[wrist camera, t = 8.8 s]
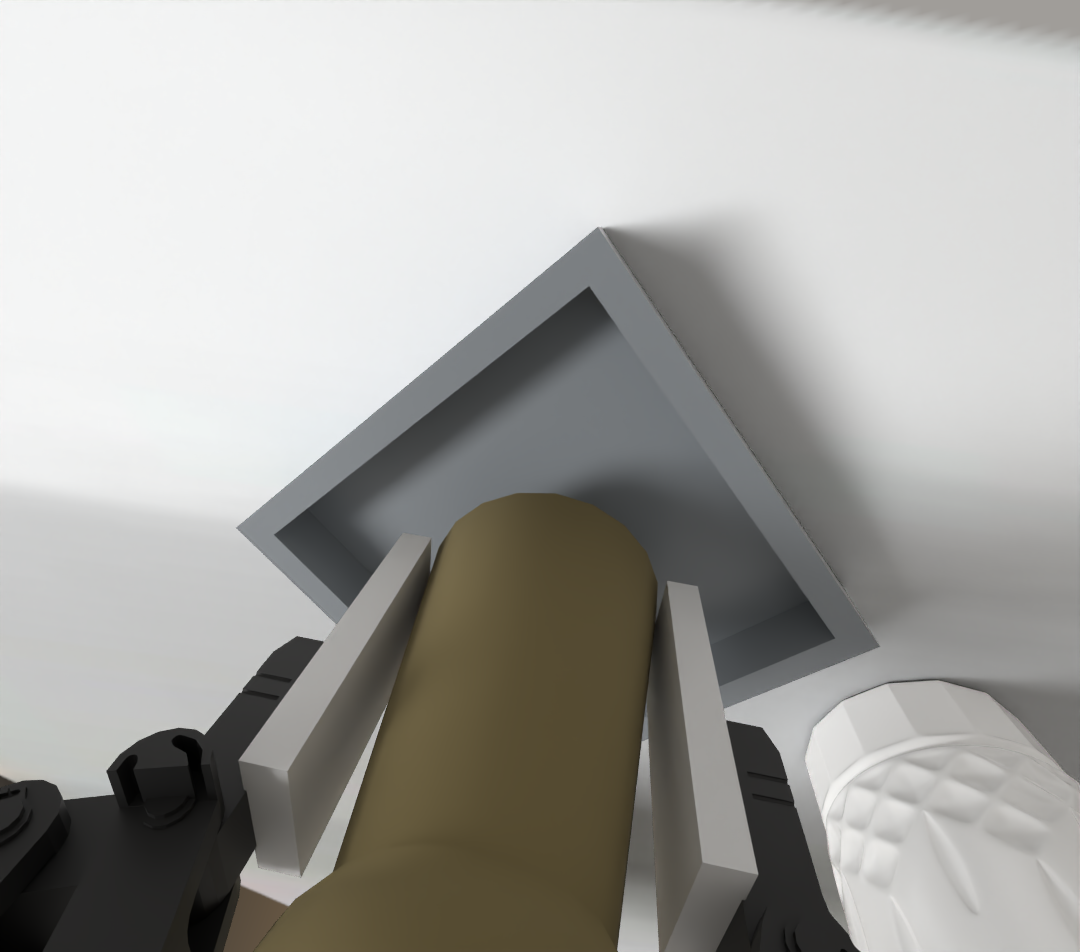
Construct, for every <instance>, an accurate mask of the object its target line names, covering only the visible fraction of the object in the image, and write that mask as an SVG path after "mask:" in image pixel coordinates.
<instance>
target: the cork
mask: <svg viewBox="0 0 1080 952" xmlns="http://www.w3.org/2000/svg"><path fill="white" fill-rule="evenodd" d="M657 590H658V582H657V579H656V576H655V574H654V571H653V568H652V565H651V562H650V560H649V557H648V554H647V552H646V551H645V550H644V548H643V547H642V546H641V545H640V543H639V542H638V541H637V540H636V539H635V537H634V536H633V535H632V534H631V532H630V531H629V530H628V529H627V528H626V526H625V525H623V524H622V523H620V522H619V521H617V520H616V519H614V518H613V517H611V516H610V515H608V514H607V513H605V512H603V511H602V510H600V509H599V508H597V507H596V506H594V505H592V504H589V503H586V502H583V501H579V500H576V499H573V498H569V497H566V496H563V495H559V494H556V493H515V494H512V495H508V496H505V497H501V498H498V499H495V500H491V501H488V502H484V503H482V504H480V505H479V506H478V507H476V508H475V509H473V510H472V511H470V512H469V513H468V514H466V515H465V516H463V517H462V518H461V519H459V520H458V521H456V522H455V524H454V525H453V527H452V528H451V530H450V531H449V533H448V534H447V536H446V537H445V539H444V540H443V542H442V543H441V544H440V546H439V548H438V551H437V554H436V557H435V560H434V564H433V567H432V570H431V573H430V576H429V579H428V582H427V585H426V588H425V591H424V594H423V597H422V600H421V603H420V606H419V610H418V613H417V616H416V619H415V622H414V625H413V628H412V631H411V634H410V637H409V640H408V643H407V646H406V649H405V652H404V656H403V659H402V662H401V665H400V668H399V671H398V674H397V677H396V680H395V683H394V686H393V689H392V692H391V695H390V698H389V702H388V705H387V708H386V711H385V714H384V717H383V720H382V723H381V726H380V729H379V732H378V735H377V738H376V741H375V744H374V748H373V751H372V754H371V757H370V760H369V763H368V766H367V769H366V772H365V775H364V778H363V781H362V784H361V787H360V790H359V794H358V797H357V800H356V803H355V806H354V809H353V812H352V815H351V818H350V821H349V824H348V827H347V830H346V833H345V836H344V840H343V843H342V846H341V849H340V852H339V855H338V858H337V861H336V864H335V867H334V870H333V873H331V874H330V875H328V876H327V877H326V878H324V879H323V880H322V881H320V882H319V883H317V884H316V885H315V886H313V887H312V888H310V889H309V890H308V891H306V892H305V893H303V894H302V895H301V896H299V897H298V898H296V899H295V900H294V901H293V903H292V904H291V905H290V906H289V907H288V908H287V910H286V911H285V912H284V913H283V914H282V915H281V917H280V918H279V919H278V920H277V921H276V922H275V924H274V925H273V926H272V928H271V929H270V930H269V931H268V933H267V934H266V935H265V937H264V938H263V939H262V941H261V942H260V943H259V945H258V946H257V947H256V949H255V950H254V951H253V952H618V951H617V946H618V938H619V929H620V921H621V912H622V904H623V895H624V887H625V878H626V870H627V861H628V852H629V844H630V835H631V827H632V818H633V810H634V801H635V793H636V784H637V776H638V767H639V758H640V750H641V741H642V733H643V724H644V716H645V707H646V699H647V690H648V682H649V673H650V664H651V656H652V647H653V639H654V630H655V622H656V613H657Z"/></svg>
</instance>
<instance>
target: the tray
mask: <svg viewBox="0 0 1080 952" xmlns="http://www.w3.org/2000/svg"><path fill="white" fill-rule="evenodd" d="M515 493H556V494H559V495H563V496H566V497H569V498H573V499H576V500H579V501H583V502H586V503H589V504H592V505H594V506H596V507H597V508H599V509H600V510H602V511H603V512H605V513H607V514H608V515H610V516H611V517H613V518H614V519H616V520H617V521H619V522H620V523H622V524H623V525H625V526H626V528H627V529H628V530H629V531H630V532H631V534H632V535H633V536H634V537H635V539H636V540H637V541H638V542H639V543H640V545H641V546H642V547H643V548H644V550H645V551H646V552H647V554H648V557H649V560H650V562H651V565H652V568H653V571H654V574H655V576H656V579H657V582H658V590H657V613H656V619H657V616H658V612H659V608H660V605H661V601H662V597H663V594H664V590H665V587H666V583H667V581H671V582H677V583H682V584H688V585H693V586H698V590H699V594H700V599H701V604H702V609H703V614H704V618H705V623H706V628H707V633H708V637H709V642H710V647H711V652H712V656H713V661H714V666H715V671H716V675H717V680H718V685H719V690H720V694H721V699H722V704H723V709H724V708H727V707H729V706H732V705H734V704H737V703H739V702H742V701H744V700H747V699H749V698H752V697H754V696H757V695H759V694H762V693H764V692H767V691H769V690H772V689H774V688H777V687H780V686H782V685H785V684H787V683H790V682H792V681H795V680H797V679H800V678H802V677H805V676H807V675H810V674H812V673H815V672H817V671H820V670H822V669H825V668H827V667H830V666H832V665H835V664H837V663H840V662H842V661H845V660H847V659H850V658H852V657H855V656H857V655H860V654H862V653H865V652H867V651H870V650H872V649H875V648H878V647H880V646H879V644H878V643H877V641H876V640H875V638H874V636H873V635H872V633H871V632H870V630H869V628H868V627H867V625H866V623H865V622H864V620H863V619H862V617H861V615H860V614H859V612H858V611H857V609H856V607H855V606H854V604H853V602H852V601H851V599H850V598H849V596H848V594H847V593H846V591H845V590H844V588H843V586H842V585H841V584H840V582H839V581H838V579H837V578H836V576H835V575H834V573H833V572H832V570H831V569H830V567H829V566H828V564H827V563H826V561H825V560H824V558H823V557H822V555H821V554H820V552H819V551H818V549H817V548H816V546H815V545H814V543H813V542H812V540H811V539H810V537H809V536H808V534H807V533H806V531H805V530H804V528H803V527H802V525H801V524H800V522H799V521H798V519H797V518H796V516H795V515H794V513H793V512H792V510H791V509H790V507H789V506H788V504H787V503H786V501H785V500H784V498H783V497H782V495H781V494H780V492H779V491H778V489H777V488H776V486H775V485H774V483H773V482H772V480H771V479H770V477H769V476H768V474H767V473H766V472H765V470H764V469H763V467H762V466H761V464H760V463H759V461H758V460H757V458H756V457H755V455H754V454H753V452H752V451H751V449H750V448H749V446H748V445H747V443H746V442H745V440H744V439H743V437H742V436H741V434H740V433H739V431H738V430H737V428H736V427H735V425H734V424H733V422H732V421H731V419H730V418H729V416H728V415H727V413H726V412H725V410H724V409H723V407H722V406H721V404H720V403H719V401H718V400H717V398H716V397H715V395H714V394H713V392H712V391H711V389H710V388H709V386H708V385H707V383H706V382H705V380H704V379H703V377H702V376H701V374H700V373H699V371H698V370H697V368H696V367H695V365H694V364H693V363H692V361H691V360H690V358H689V357H688V355H687V354H686V352H685V351H684V349H683V348H682V346H681V345H680V343H679V342H678V340H677V339H676V337H675V336H674V334H673V333H672V331H671V330H670V328H669V327H668V325H667V324H666V322H665V321H664V319H663V318H662V316H661V315H660V313H659V312H658V310H657V309H656V307H655V306H654V304H653V303H652V301H651V300H650V298H649V297H648V295H647V294H646V292H645V291H644V289H643V288H642V286H641V285H640V283H639V282H638V280H637V279H636V277H635V276H634V274H633V273H632V271H631V270H630V268H629V267H628V265H627V264H626V262H625V261H624V259H623V258H622V256H621V255H620V253H619V252H618V251H617V249H616V248H615V246H614V245H613V243H612V242H611V240H610V239H609V237H608V236H607V234H606V233H605V231H604V230H603V228H602V227H597V228H596V229H595V230H594V231H593V232H591V233H590V234H589V235H588V236H587V237H585V238H584V239H583V240H582V241H581V242H579V243H578V244H577V245H576V246H575V247H573V248H572V249H571V250H570V251H569V252H567V253H566V254H565V255H564V256H563V257H561V258H560V259H559V260H558V261H557V262H555V263H554V264H553V265H552V266H551V267H549V268H548V269H547V270H546V271H545V272H543V273H542V274H541V275H540V276H539V277H537V278H536V279H535V280H534V281H533V282H531V283H530V284H529V285H528V286H527V287H525V288H524V289H523V290H522V291H520V292H519V293H518V294H517V295H516V296H514V297H513V298H512V299H511V300H510V301H508V302H507V303H506V304H505V305H504V306H502V307H501V308H500V309H499V310H498V311H496V312H495V313H494V314H493V315H492V316H490V317H489V318H488V319H487V320H486V321H484V322H483V323H482V324H481V325H480V326H478V327H477V328H476V329H475V330H474V331H472V332H471V333H470V334H469V335H468V336H466V337H465V338H464V339H463V340H462V341H460V342H459V343H458V344H457V345H456V346H454V347H453V348H452V349H451V350H450V351H448V352H447V353H446V354H445V355H444V356H442V357H441V358H440V359H439V360H438V361H436V362H435V363H434V364H433V365H432V366H430V367H429V368H428V369H427V370H425V371H424V372H423V373H422V374H421V375H419V376H418V377H417V378H416V379H415V380H413V381H412V382H411V383H410V384H409V385H407V386H406V387H405V388H404V389H403V390H401V391H400V392H399V393H398V394H397V395H395V396H394V397H393V398H392V399H391V400H389V401H388V402H387V403H386V404H385V405H383V406H382V407H381V408H380V409H379V410H377V411H376V412H375V413H374V414H373V415H371V416H370V417H369V418H368V419H367V420H365V421H364V422H363V423H362V424H361V425H359V426H358V427H357V428H356V429H355V430H353V431H352V432H351V433H350V434H349V435H347V436H346V437H345V438H344V439H343V440H341V441H340V442H339V443H338V444H336V445H335V446H334V447H333V448H332V449H330V450H329V451H328V452H327V453H326V454H324V455H323V456H322V457H321V458H320V459H318V460H317V461H316V462H315V463H314V464H312V465H311V466H310V467H309V468H308V469H306V470H305V471H304V472H303V473H302V474H300V475H299V476H298V477H297V478H296V479H294V480H293V481H292V482H291V483H290V484H288V485H287V486H286V487H285V488H284V489H282V490H281V491H280V492H279V493H278V494H276V495H275V496H274V497H273V498H272V499H270V500H269V501H268V502H267V503H266V504H264V505H263V506H262V507H261V508H260V509H258V510H257V511H256V512H255V513H254V514H252V515H251V516H250V517H249V518H248V519H246V520H245V521H244V522H243V523H241V524H240V525H239V526H238V527H237V529H238V530H239V531H240V532H241V533H242V534H243V535H244V536H245V537H246V538H247V539H248V540H249V541H250V542H251V543H252V544H253V545H254V546H256V547H257V548H258V549H259V550H260V551H261V552H262V553H263V554H264V555H265V556H266V557H267V558H268V559H269V560H270V561H271V562H272V563H273V564H274V565H275V566H276V567H277V568H278V569H279V570H281V571H282V572H283V573H284V574H285V575H286V576H287V577H288V578H289V579H290V580H291V581H292V582H293V583H294V584H295V585H296V586H297V587H298V588H299V589H300V590H301V591H302V592H303V593H304V594H305V595H307V596H308V597H309V598H310V599H311V600H312V601H313V602H314V603H315V604H316V605H317V606H318V607H319V608H320V609H321V610H322V611H323V612H324V613H325V614H326V615H327V616H328V617H329V618H330V619H332V620H333V621H334V622H335V623H336V624H337V623H338V622H339V621H340V619H341V618H342V616H343V615H344V614H345V612H346V611H347V610H348V608H349V607H350V605H351V604H352V603H353V601H354V600H355V598H356V597H357V596H358V594H359V593H360V592H361V590H362V589H363V587H364V586H365V585H366V583H367V582H368V580H369V579H370V578H371V576H372V575H373V574H374V572H375V571H376V569H377V568H378V567H379V565H380V564H381V562H382V561H383V560H384V558H385V557H386V556H387V554H388V553H389V551H390V550H391V549H392V547H393V546H394V545H395V543H396V542H397V540H398V539H399V538H400V536H401V535H402V533H407V534H413V535H418V536H424V537H429V538H431V564H430V573H431V570H432V567H433V564H434V560H435V557H436V554H437V551H438V548H439V546H440V544H441V543H442V542H443V540H444V539H445V537H446V536H447V534H448V533H449V531H450V530H451V528H452V527H453V525H454V524H455V522H456V521H458V520H459V519H461V518H462V517H463V516H465V515H466V514H468V513H469V512H470V511H472V510H473V509H475V508H476V507H478V506H479V505H480V504H482V503H484V502H488V501H491V500H495V499H498V498H501V497H505V496H508V495H512V494H515ZM655 623H656V622H655ZM646 739H649V738H648V719H647V699H646V707H645V716H644V724H643V733H642V741H644V740H646Z"/></svg>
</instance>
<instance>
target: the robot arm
mask: <svg viewBox="0 0 1080 952" xmlns="http://www.w3.org/2000/svg"><path fill="white" fill-rule="evenodd" d="M430 564H431V538H429V537H424V536H418V535H413V534H407V533H402V535H401V536H400V538H399V539H398V540H397V542H396V543H395V545H394V546H393V547H392V549H391V550H390V551H389V553H388V554H387V556H386V557H385V558H384V560H383V561H382V562H381V564H380V565H379V567H378V568H377V569H376V571H375V572H374V574H373V575H372V576H371V578H370V579H369V580H368V582H367V583H366V585H365V586H364V587H363V589H362V590H361V592H360V593H359V594H358V596H357V597H356V598H355V600H354V601H353V603H352V604H351V605H350V607H349V608H348V610H347V611H346V612H345V614H344V615H343V616H342V618H341V619H340V621H339V622H338V623H337V625H336V626H335V628H334V629H333V630H332V632H331V633H330V634H329V636H328V637H327V639H326V640H325V641H324V642H323V641H318V640H313V639H308V638H303V637H298V636H297V637H295V638H294V639H292V640H291V641H289V642H288V643H286V644H284V645H283V646H281V647H280V648H278V649H277V650H275V651H274V652H273V653H272V654H271V655H270V657H269V658H268V659H267V660H266V661H265V663H264V664H263V665H262V666H261V667H260V669H259V670H258V671H257V674H256V676H253V677H252V678H251V680H250V681H249V682H248V683H247V684H246V686H245V687H244V688H243V691H242V693H239V694H238V695H237V696H236V698H235V699H234V700H233V701H232V703H231V704H230V705H229V706H228V707H227V709H226V710H225V711H224V712H223V713H222V715H221V716H220V717H219V718H218V719H217V721H216V722H215V723H214V724H213V726H212V727H211V728H210V729H209V730H208V732H207V733H206V734H205V735H204V734H202V733H200V732H199V731H197V730H194V729H184V728H176V729H171V730H165V731H160V732H157V733H155V734H153V735H151V736H148V737H146V738H144V739H142V740H139V741H138V742H136V743H135V744H134V745H132V746H131V747H130V748H128V749H127V750H125V751H124V752H123V753H121V754H120V755H119V756H118V758H117V759H116V760H115V761H114V762H113V764H112V765H111V766H110V767H109V769H108V770H107V774H108V777H109V780H110V783H111V786H112V788H113V791H114V794H115V795H106V796H97V797H88V798H79V799H70V800H63V798H62V796H61V794H60V792H59V790H58V788H57V786H56V785H54V784H51V783H49V782H47V781H44V780H29V781H21V782H18V783H14V784H11V785H8V786H5V787H1V788H0V952H223V950H224V946H225V943H226V939H227V936H228V933H229V929H230V926H231V922H232V918H233V915H234V912H235V908H236V905H237V901H238V898H239V892H240V883H241V879H240V873H241V871H242V870H243V868H244V866H245V865H246V863H247V861H248V860H249V858H250V856H251V855H252V853H253V851H254V850H255V853H256V858H257V863H258V868H261V869H266V870H270V871H274V872H278V873H283V874H287V875H291V876H296V877H300V878H301V877H302V875H303V872H304V870H305V868H306V866H307V864H308V862H309V860H310V858H311V856H312V854H313V852H314V850H315V848H316V846H317V844H318V842H319V840H320V838H321V836H322V834H323V832H324V830H325V828H326V826H327V824H328V822H329V820H330V818H331V816H332V814H333V812H334V810H335V808H336V806H337V804H338V802H339V800H340V798H341V796H342V794H343V792H344V790H345V788H346V786H347V784H348V782H349V780H350V778H351V776H352V774H353V772H354V770H355V768H356V766H357V764H358V762H359V759H360V757H361V755H362V753H363V751H364V749H365V747H366V745H367V743H368V741H369V739H370V737H371V735H372V733H373V731H374V729H375V727H376V725H377V723H378V721H379V719H380V717H381V715H382V713H383V711H384V709H385V707H386V705H387V703H388V701H389V698H390V695H391V692H392V689H393V686H394V683H395V680H396V677H397V674H398V671H399V668H400V665H401V662H402V659H403V656H404V652H405V649H406V646H407V643H408V640H409V637H410V634H411V631H412V628H413V625H414V622H415V619H416V616H417V613H418V610H419V606H420V603H421V600H422V597H423V594H424V591H425V588H426V585H427V582H428V579H429V576H430ZM647 719H648V738H649V758H650V778H651V798H652V818H653V838H654V857H655V877H656V897H657V917H658V937H659V952H860V951H859V950H858V949H857V948H856V947H855V946H854V944H853V943H852V941H851V939H850V937H849V935H848V933H847V932H846V931H845V930H844V929H843V928H842V927H841V926H840V924H839V923H838V922H837V921H836V920H835V919H834V918H833V916H832V915H831V914H830V912H829V911H828V908H827V906H826V903H825V901H824V898H823V896H822V893H821V889H820V886H819V883H818V879H817V876H816V873H815V869H814V866H813V863H812V859H811V856H810V853H809V849H808V846H807V843H806V839H805V836H804V833H803V829H802V826H801V823H800V819H799V816H798V813H797V809H796V808H795V807H794V799H793V796H792V793H791V789H790V786H789V785H788V784H787V780H788V779H787V776H786V772H785V769H784V766H783V762H782V759H781V756H780V753H779V751H778V750H777V748H776V747H775V745H774V744H773V743H772V741H771V740H770V738H769V737H768V735H767V734H766V733H765V731H764V730H763V728H761V727H756V726H751V725H746V724H741V723H736V722H731V721H726V718H725V713H724V709H723V704H722V699H721V694H720V690H719V685H718V680H717V675H716V671H715V666H714V661H713V656H712V652H711V647H710V642H709V637H708V633H707V628H706V623H705V618H704V614H703V609H702V604H701V599H700V594H699V590H698V586H693V585H688V584H682V583H677V582H671V581H667V583H666V587H665V590H664V594H663V597H662V601H661V605H660V608H659V612H658V616H657V619H656V623H655V630H654V639H653V647H652V656H651V664H650V673H649V682H648V690H647Z"/></svg>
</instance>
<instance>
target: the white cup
mask: <svg viewBox="0 0 1080 952" xmlns="http://www.w3.org/2000/svg"><path fill="white" fill-rule="evenodd" d="M805 762H806V766H807V770H808V773H809V776H810V780H811V783H812V786H813V789H814V793H815V796H816V799H817V803H818V806H819V809H820V813H821V816H822V820H823V824H824V827H825V830H826V833H827V842H828V855H829V858H830V861H831V864H832V869H833V873H834V877H835V881H836V885H837V889H838V892H839V896H840V899H841V903H842V907H843V911H844V913H845V916H846V920H847V924H848V929H849V933H850V937H851V941H852V943H853V944H854V946H855V947H856V948H857V949H858V950H859V951H860V952H1080V784H1079V783H1078V782H1077V781H1076V780H1075V779H1073V778H1072V777H1070V776H1069V775H1067V774H1066V773H1065V772H1064V771H1063V769H1062V768H1061V767H1060V766H1059V765H1058V764H1057V763H1056V761H1055V760H1054V759H1053V758H1052V757H1051V756H1050V755H1049V753H1048V752H1047V751H1046V750H1045V749H1044V748H1043V746H1042V745H1041V744H1040V743H1039V742H1038V741H1037V740H1036V738H1035V737H1034V736H1033V735H1032V734H1031V733H1030V732H1029V730H1028V729H1027V728H1026V727H1025V726H1024V725H1023V724H1022V723H1021V721H1020V720H1019V719H1017V718H1016V717H1015V716H1014V715H1013V714H1011V713H1010V712H1009V711H1008V710H1007V709H1005V708H1004V707H1003V706H1002V705H1001V704H999V703H998V702H997V701H996V700H994V699H993V698H992V697H991V696H990V695H988V694H987V693H985V692H981V691H978V690H974V689H970V688H966V687H962V686H959V685H955V684H951V683H947V682H943V681H939V680H932V681H917V682H902V683H888V684H884V685H881V686H879V687H876V688H873V689H871V690H868V691H866V692H863V693H860V694H858V695H855V696H853V697H850V698H848V699H845V700H843V701H842V702H840V703H839V704H838V705H837V706H836V707H835V708H834V709H833V710H832V711H830V712H829V713H828V714H827V715H826V716H825V717H824V718H823V719H822V720H821V721H820V722H819V723H818V724H817V725H816V726H815V727H814V728H813V731H812V734H811V738H810V741H809V745H808V748H807V752H806V755H805Z"/></svg>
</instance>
